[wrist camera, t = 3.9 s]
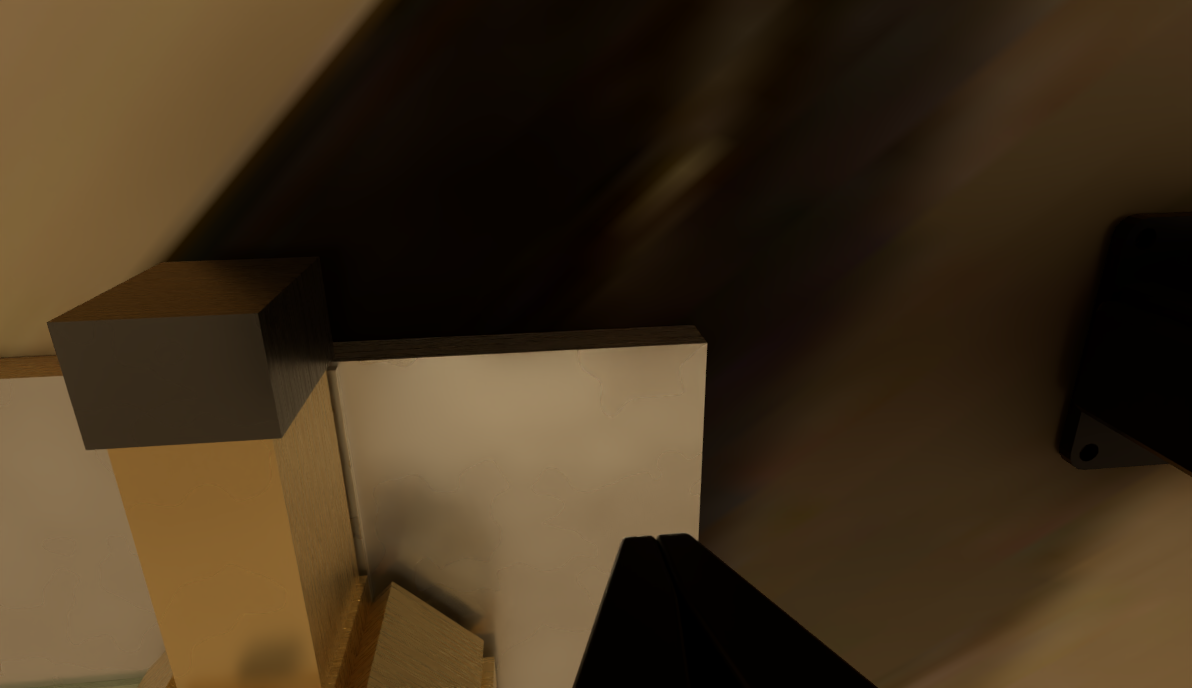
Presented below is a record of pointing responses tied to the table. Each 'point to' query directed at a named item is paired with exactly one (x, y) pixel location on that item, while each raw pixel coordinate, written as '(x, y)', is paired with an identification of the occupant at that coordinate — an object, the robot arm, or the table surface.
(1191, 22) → the table surface
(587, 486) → the post base
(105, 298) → the octagonal ring with handle
